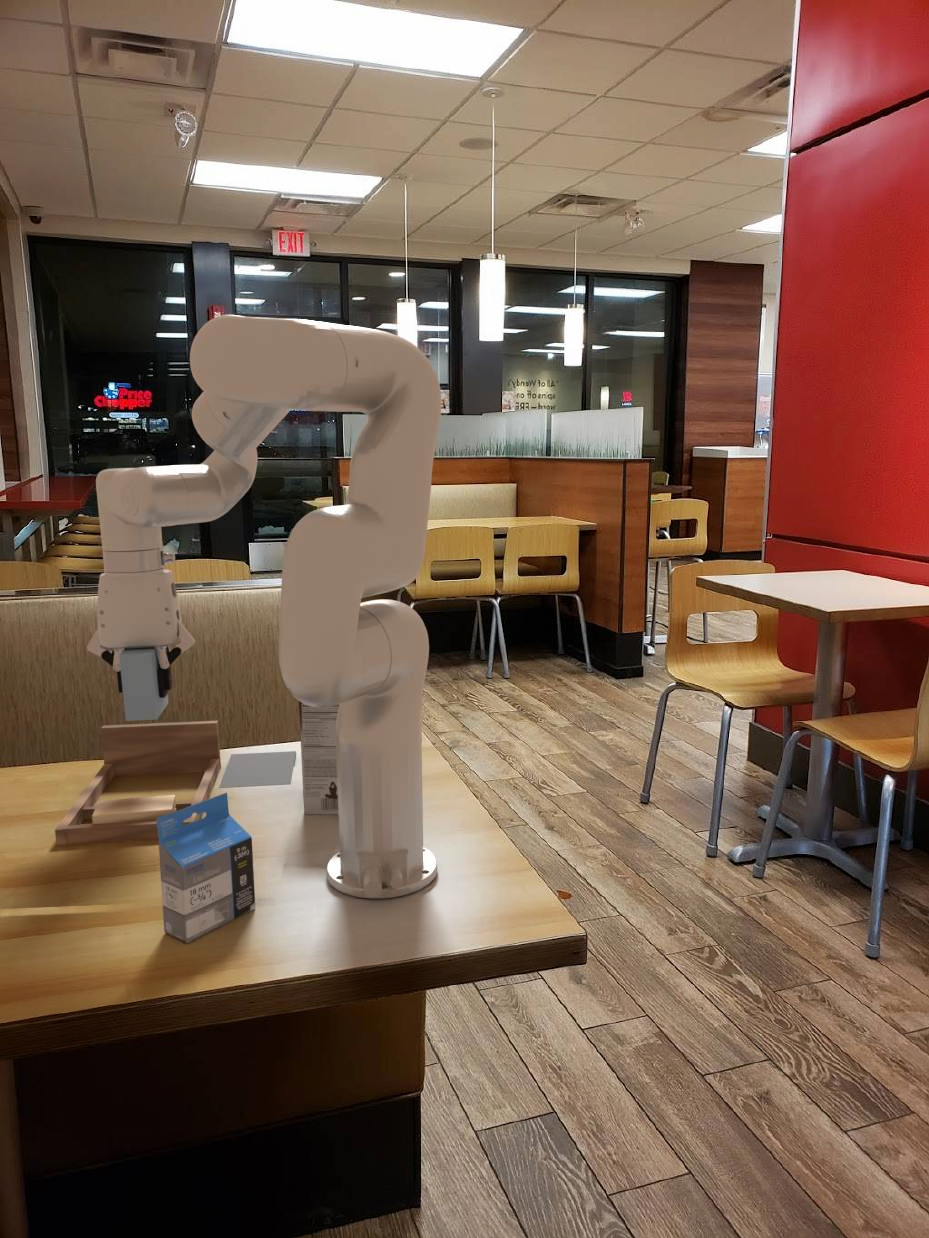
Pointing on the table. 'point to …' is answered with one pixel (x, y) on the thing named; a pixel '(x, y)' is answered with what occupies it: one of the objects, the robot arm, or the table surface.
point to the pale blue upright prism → (141, 684)
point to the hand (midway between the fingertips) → (146, 695)
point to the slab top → (133, 809)
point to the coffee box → (319, 758)
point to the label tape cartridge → (204, 869)
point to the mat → (259, 769)
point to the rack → (144, 755)
